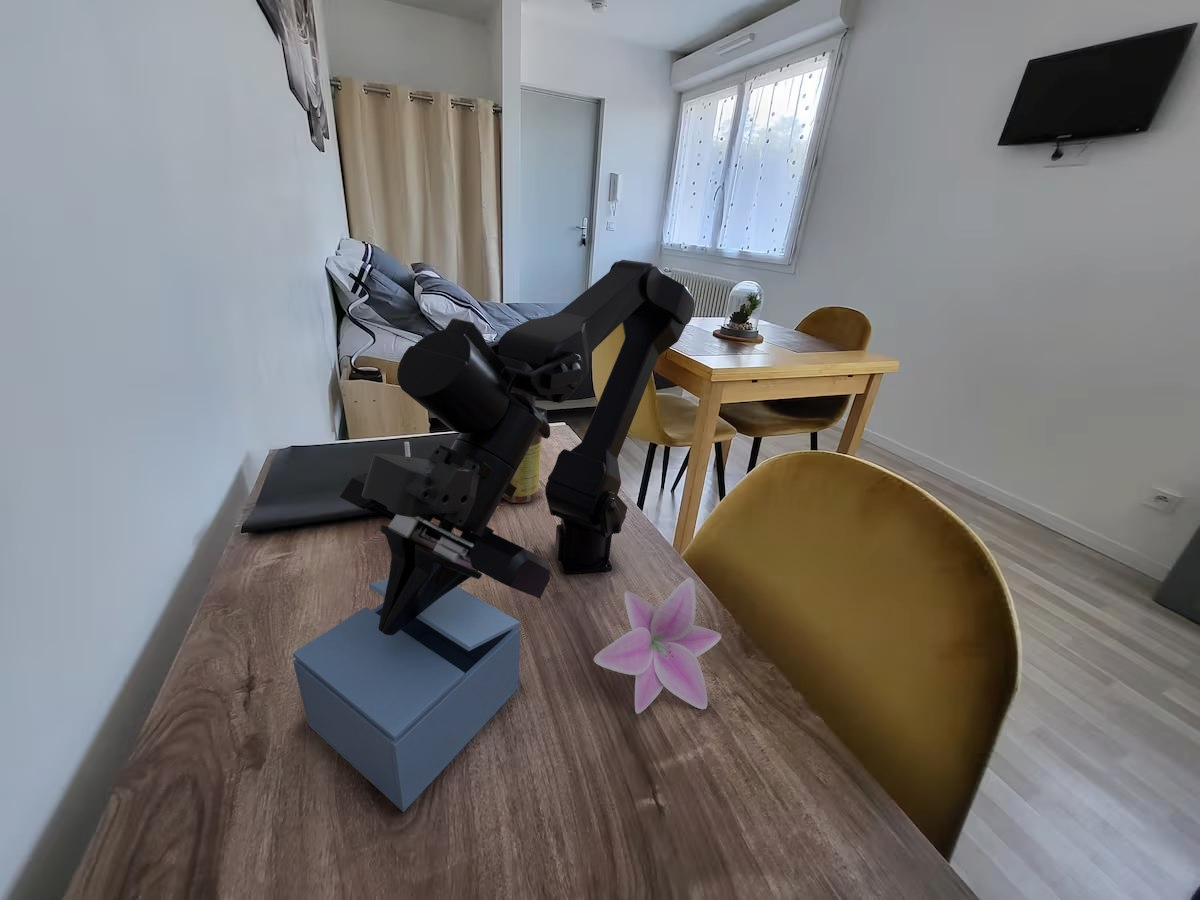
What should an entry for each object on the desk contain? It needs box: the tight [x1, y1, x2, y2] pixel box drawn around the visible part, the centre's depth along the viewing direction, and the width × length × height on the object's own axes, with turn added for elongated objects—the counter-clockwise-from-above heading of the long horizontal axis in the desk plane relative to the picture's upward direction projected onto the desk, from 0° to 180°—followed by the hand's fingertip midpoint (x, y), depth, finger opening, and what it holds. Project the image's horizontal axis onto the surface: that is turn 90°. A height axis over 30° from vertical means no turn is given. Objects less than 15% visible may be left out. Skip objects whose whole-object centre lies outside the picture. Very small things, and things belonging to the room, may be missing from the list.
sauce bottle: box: [502, 390, 543, 504], centre depth 74 cm, size 7×6×20 cm
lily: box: [593, 577, 722, 715], centre depth 47 cm, size 12×12×10 cm
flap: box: [368, 578, 521, 651], centre depth 42 cm, size 6×12×1 cm, turn 58°
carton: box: [292, 602, 521, 813], centre depth 42 cm, size 13×12×8 cm
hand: (385, 633), depth 37 cm, fingers closed
